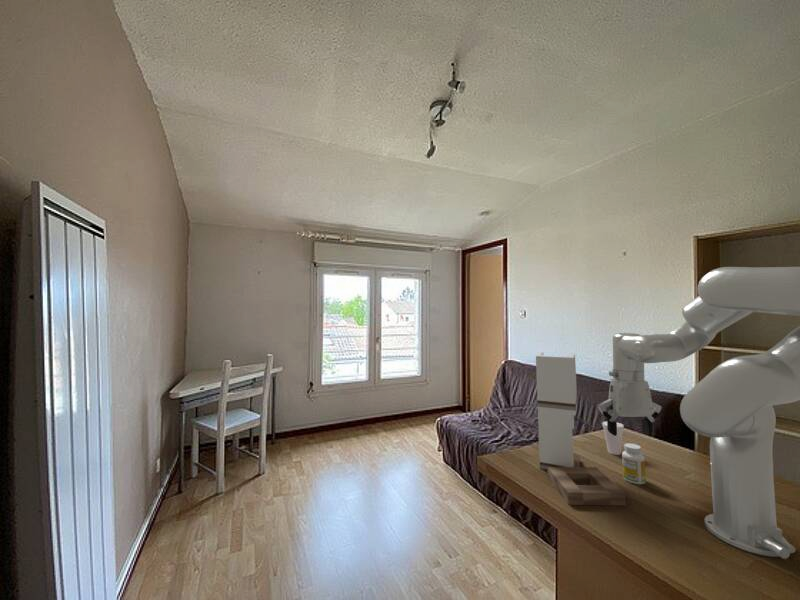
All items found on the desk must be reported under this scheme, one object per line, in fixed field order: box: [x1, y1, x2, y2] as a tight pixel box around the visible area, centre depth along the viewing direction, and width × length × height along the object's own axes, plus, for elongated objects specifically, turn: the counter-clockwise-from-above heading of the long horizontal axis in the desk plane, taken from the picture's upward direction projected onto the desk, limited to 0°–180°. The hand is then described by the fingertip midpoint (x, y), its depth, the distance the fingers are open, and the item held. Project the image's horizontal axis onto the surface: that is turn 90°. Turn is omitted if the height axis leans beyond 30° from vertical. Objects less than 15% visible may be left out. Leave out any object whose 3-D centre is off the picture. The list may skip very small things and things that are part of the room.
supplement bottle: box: [621, 443, 647, 485], centre depth 96 cm, size 5×5×10 cm
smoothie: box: [601, 420, 625, 456], centre depth 114 cm, size 6×6×14 cm
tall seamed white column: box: [535, 351, 581, 471], centre depth 107 cm, size 11×11×35 cm
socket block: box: [546, 466, 627, 506], centre depth 91 cm, size 14×14×3 cm
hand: (629, 434), depth 97 cm, fingers open, 9 cm apart
